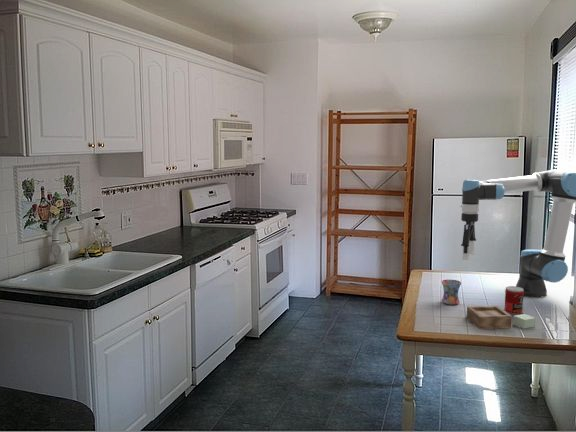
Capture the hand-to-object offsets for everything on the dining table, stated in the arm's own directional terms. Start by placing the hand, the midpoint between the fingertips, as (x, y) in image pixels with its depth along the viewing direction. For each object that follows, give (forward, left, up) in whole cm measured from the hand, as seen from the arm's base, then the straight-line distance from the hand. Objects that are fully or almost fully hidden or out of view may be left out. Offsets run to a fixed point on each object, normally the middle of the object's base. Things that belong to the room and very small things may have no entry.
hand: (468, 257), depth 260 cm
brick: (-15, +29, -24) cm, 40 cm away
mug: (+5, -5, -24) cm, 25 cm away
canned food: (-19, +10, -24) cm, 32 cm away
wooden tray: (-1, +25, -24) cm, 35 cm away
